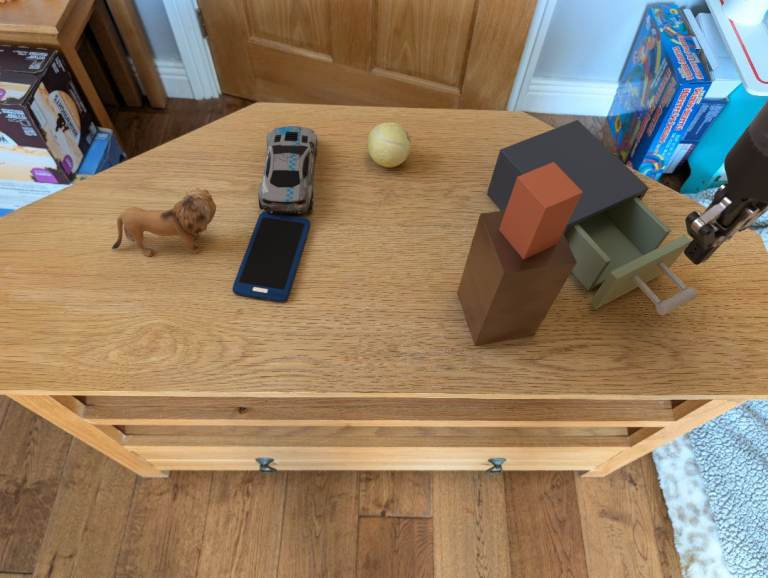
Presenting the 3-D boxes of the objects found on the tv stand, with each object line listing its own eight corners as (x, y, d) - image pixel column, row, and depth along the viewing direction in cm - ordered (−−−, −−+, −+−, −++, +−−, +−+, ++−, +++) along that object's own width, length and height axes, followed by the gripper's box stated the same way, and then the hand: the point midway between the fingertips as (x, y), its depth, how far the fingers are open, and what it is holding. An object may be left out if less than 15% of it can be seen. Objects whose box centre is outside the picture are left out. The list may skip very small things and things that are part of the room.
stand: (513, 283, 75) (549, 204, 61) (534, 335, 71) (577, 262, 57) (456, 292, 74) (480, 213, 60) (474, 345, 70) (503, 273, 56)
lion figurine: (223, 220, 78) (210, 175, 71) (226, 250, 76) (212, 206, 68) (113, 236, 76) (87, 191, 68) (112, 267, 73) (85, 224, 66)
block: (556, 244, 58) (583, 192, 52) (523, 260, 57) (546, 208, 50) (531, 215, 60) (553, 161, 54) (498, 229, 59) (517, 176, 52)
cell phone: (231, 294, 72) (230, 291, 71) (261, 213, 79) (260, 209, 79) (287, 303, 71) (286, 300, 71) (312, 221, 79) (311, 217, 78)
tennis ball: (409, 178, 84) (413, 144, 79) (365, 176, 84) (366, 142, 79) (408, 148, 88) (412, 114, 82) (366, 146, 88) (367, 112, 82)
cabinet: (622, 230, 81) (649, 187, 73) (547, 265, 77) (568, 224, 69) (558, 164, 87) (577, 119, 80) (486, 194, 83) (499, 149, 76)
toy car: (318, 139, 88) (316, 113, 84) (312, 221, 79) (310, 197, 74) (270, 138, 88) (267, 112, 84) (259, 220, 78) (254, 195, 74)
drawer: (697, 305, 73) (727, 275, 67) (625, 345, 69) (651, 317, 64) (599, 205, 82) (618, 170, 76) (531, 235, 78) (546, 201, 72)
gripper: (780, 192, 45) (676, 305, 59) (881, 142, 49) (760, 259, 63) (709, 134, 48) (627, 254, 63) (809, 91, 52) (710, 213, 67)
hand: (694, 256), depth 63 cm, fingers closed
